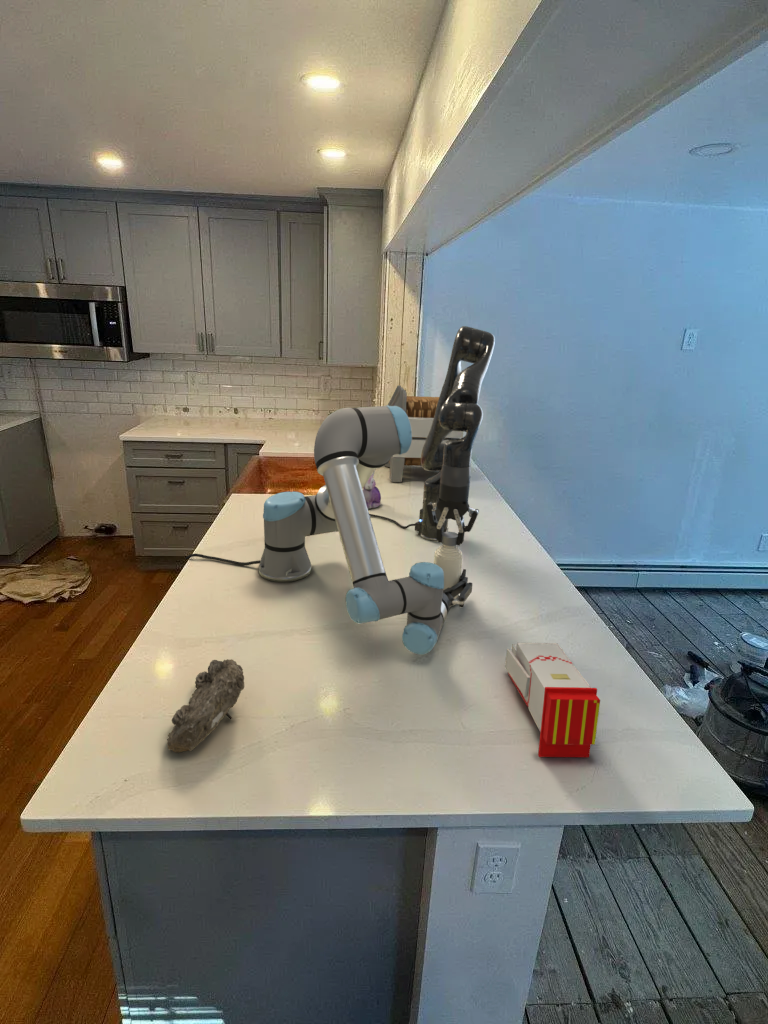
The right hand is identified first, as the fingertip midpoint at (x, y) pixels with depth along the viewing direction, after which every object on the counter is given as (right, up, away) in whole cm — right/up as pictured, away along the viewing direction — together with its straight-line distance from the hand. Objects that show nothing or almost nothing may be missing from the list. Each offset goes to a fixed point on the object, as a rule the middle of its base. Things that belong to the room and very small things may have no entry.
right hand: (449, 542), depth 150 cm
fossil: (-50, -31, -42) cm, 72 cm away
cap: (0, +2, -1) cm, 2 cm away
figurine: (-23, +11, +77) cm, 81 cm away
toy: (+15, -32, -35) cm, 50 cm away
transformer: (0, +27, +125) cm, 128 cm away
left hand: (+1, -8, +8) cm, 12 cm away
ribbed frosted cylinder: (-1, -16, +6) cm, 17 cm away
